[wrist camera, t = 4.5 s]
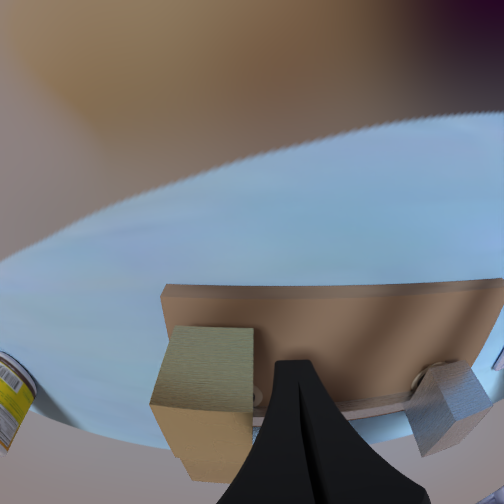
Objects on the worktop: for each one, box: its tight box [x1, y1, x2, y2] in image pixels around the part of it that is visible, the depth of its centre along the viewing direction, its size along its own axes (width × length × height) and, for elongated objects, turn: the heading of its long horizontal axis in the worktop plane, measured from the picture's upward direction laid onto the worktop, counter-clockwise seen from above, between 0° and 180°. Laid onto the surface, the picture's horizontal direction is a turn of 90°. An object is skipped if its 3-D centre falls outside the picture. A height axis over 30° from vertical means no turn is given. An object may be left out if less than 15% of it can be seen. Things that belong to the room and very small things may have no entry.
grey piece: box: [253, 360, 493, 457], centre depth 12 cm, size 16×4×5 cm, turn 90°
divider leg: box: [149, 325, 253, 484], centre depth 11 cm, size 3×8×5 cm, turn 0°
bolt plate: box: [160, 278, 504, 427], centre depth 14 cm, size 19×10×1 cm, turn 90°
